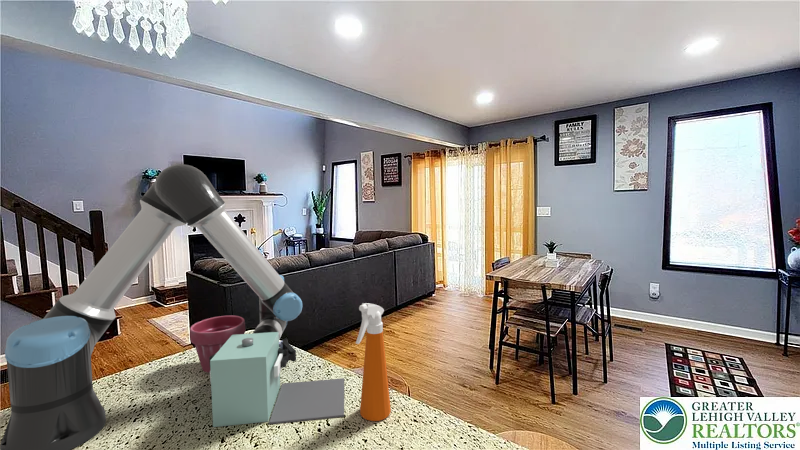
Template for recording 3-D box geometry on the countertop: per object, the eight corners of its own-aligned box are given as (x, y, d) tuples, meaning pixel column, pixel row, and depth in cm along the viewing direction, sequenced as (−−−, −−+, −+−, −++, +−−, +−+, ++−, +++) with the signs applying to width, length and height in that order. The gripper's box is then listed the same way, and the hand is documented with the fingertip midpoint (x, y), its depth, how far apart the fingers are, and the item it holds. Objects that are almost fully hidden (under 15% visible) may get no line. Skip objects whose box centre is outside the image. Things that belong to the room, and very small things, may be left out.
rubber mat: (269, 424, 74) (268, 422, 74) (282, 384, 89) (282, 383, 89) (344, 416, 76) (344, 414, 76) (344, 379, 92) (344, 378, 92)
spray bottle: (344, 426, 73) (342, 305, 71) (370, 399, 82) (369, 292, 81) (372, 436, 70) (371, 310, 68) (396, 407, 79) (395, 296, 78)
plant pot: (180, 372, 96) (177, 327, 95) (223, 351, 109) (221, 312, 108) (216, 382, 91) (214, 335, 90) (256, 359, 104) (255, 318, 103)
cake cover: (212, 427, 73) (209, 355, 72) (234, 390, 87) (231, 330, 86) (268, 421, 74) (265, 351, 73) (280, 386, 88) (278, 327, 87)
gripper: (311, 346, 100) (302, 385, 79) (219, 353, 96) (184, 395, 75) (310, 321, 99) (301, 354, 78) (218, 327, 95) (183, 362, 74)
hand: (244, 374), depth 77 cm, fingers open, 13 cm apart
